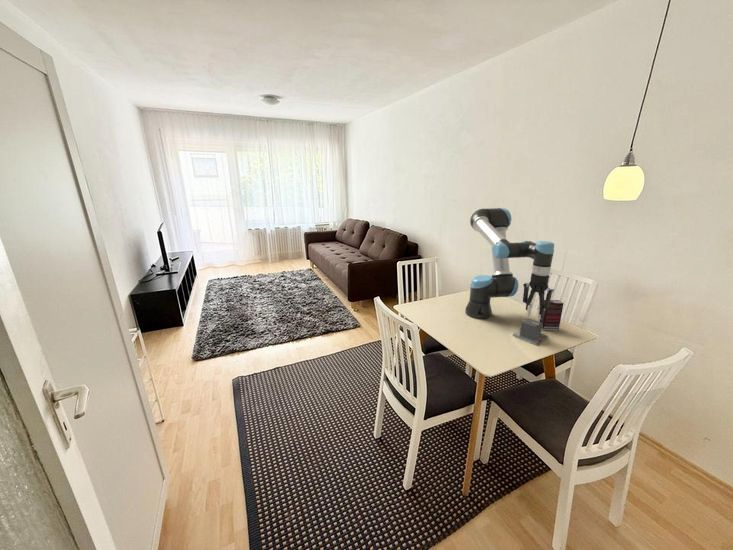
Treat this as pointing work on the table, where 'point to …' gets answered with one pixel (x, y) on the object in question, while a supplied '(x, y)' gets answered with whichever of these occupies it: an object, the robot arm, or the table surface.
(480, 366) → the table surface
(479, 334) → the table surface
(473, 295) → the robot arm
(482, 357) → the table surface
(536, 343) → the hub
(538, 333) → the grey cube
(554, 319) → the supplement box
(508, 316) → the table surface
